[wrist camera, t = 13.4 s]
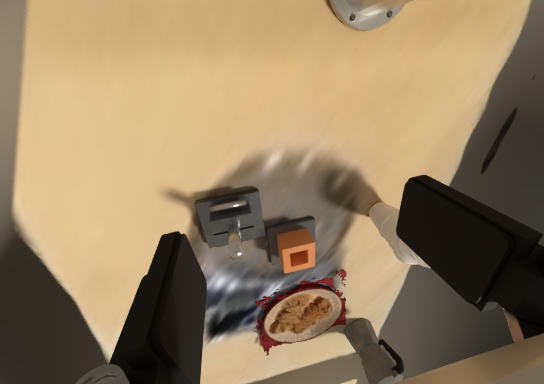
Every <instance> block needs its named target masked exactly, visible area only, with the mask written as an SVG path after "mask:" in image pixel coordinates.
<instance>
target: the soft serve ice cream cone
mask: <svg viewBox="0 0 544 384" xmlns="http://www.w3.org/2000/svg"><path fill="white" fill-rule="evenodd" d="M399 211H400V210H398V209H396V208H394V207H392V206H390V205H387V204H385V203H382V202H379V203H376V204H375V205H373V206H372V207H371V209H370V210H369V216H370V218H371V220H372V221H373V223H374V224H375V226H376V227H377V229H378V230H379V233H380V235H381V236H382V237H384V238H385V240H386V241H387V242H388V243H389V245H390V247H391V248H392V249H393V251H394V254H395V256H396V257H397V258H398V259H399V260H400V261H402V262H403V263H406V264H420V265H422V266H425V267H428V268H430V267H429V266H428V265H427V264H426V263H425V262H424V261H423V260H422V259H421V258H420V257H419V256H418V255H417V254H416V253H414V252H413V251H412V250H411V249H410V248H409V247H408V246H407V245H406V244H405V243H404V242H403V241H402V240H401V239H400V238H399V237H398V236H397V234H396V226H397V221H398V216H399Z"/></svg>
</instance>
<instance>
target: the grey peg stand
mask: <svg viewBox="0 0 544 384" xmlns="http://www.w3.org/2000/svg"><path fill="white" fill-rule="evenodd" d="M195 206H196V209H197V212H198V215H199V219H200V222H201V225H202V228H203V231H204V234H205V237H206V240H207V243H208V246H209V248H212V247H220V246H225V245H229V256H230V259H232V260H234V261H237V260H240V259H241V258H242V257H243V250H242V242H243V241H247V240H252V239H256V238H257V237H261V236H265V229H264V223H263V216H262V209H261V203H260V196H259V191H258V189H254V190H249V191H243V192H238V193H233V194H228V195H223V196H217V197H212V198H207V199H202V200H197V201H195Z"/></svg>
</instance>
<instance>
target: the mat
mask: <svg viewBox="0 0 544 384" xmlns="http://www.w3.org/2000/svg"><path fill="white" fill-rule="evenodd" d="M304 228H307V229H308V231H309V233H310V235H311V236H312V238H313V240H314V242H315V219H314V217H311V218H307V219H302V220H298V221H293V222H288V223H284V224H279V225H275V226H270V227H266V229H267V236H268V243H269V250H270V257H271V263H272V265H275V264H279V263H281V261H280V258H279V251H278V242H277V234H282V233H286V232H291V231H295V230H300V229H304Z"/></svg>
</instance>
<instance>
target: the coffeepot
mask: <svg viewBox="0 0 544 384" xmlns="http://www.w3.org/2000/svg"><path fill="white" fill-rule="evenodd" d="M345 336H346V337H347V339H348V340H349V342H350V343H351V345H352V346H353V348H354V349H355V351H356V352H357V354H359V355H360V357H361V359H362V365H363V368H364V371H365V373H366V376H367V379H368V382H369V384H394V383H397V382H400V381H402V378H403V376H404V375H403V374H402V373H403V372H404V365H403V361H402V359H401V357H400V356H399V355H398V354H397V353H396V352H395V351H393V349H392V348H391V347H390V346H389V345H388V344H387V343H386V342H385V341H384V340H383V339H381V340H379V341H378V339H377V336H376V334H375V332H374V329H373V327H372V325H371V322H370V321H369V320H367V319H358V320H355V321H353V322H352V323H350V324H349V325H348V326H347V327H346V328H345ZM381 345H383V346H384V347H385V349H386V350H387V351H388V352H389V353H390V355H391V356H392V357H393V359H394V360H395V361H396V364H397V365H395V364H394V362H393V361H392V360H391V358H390V357H389V356H388V354H387V353H386V352H385V351H384V350H382V349H381V347H380V346H381Z"/></svg>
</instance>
